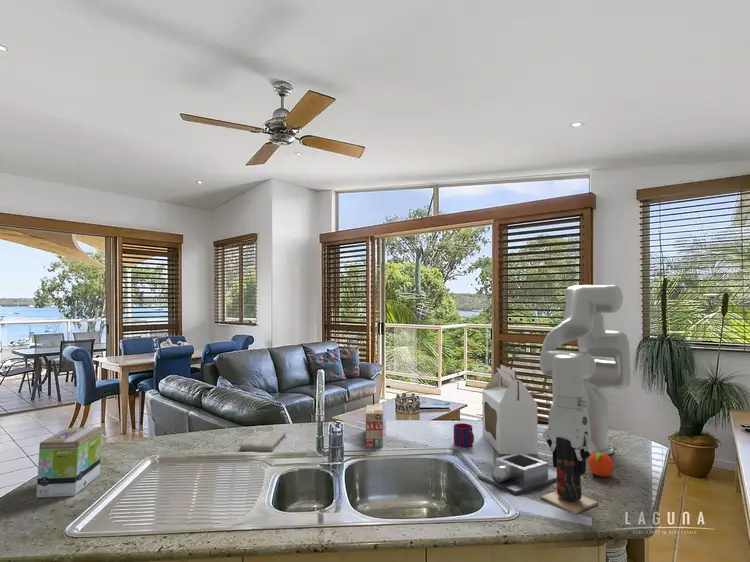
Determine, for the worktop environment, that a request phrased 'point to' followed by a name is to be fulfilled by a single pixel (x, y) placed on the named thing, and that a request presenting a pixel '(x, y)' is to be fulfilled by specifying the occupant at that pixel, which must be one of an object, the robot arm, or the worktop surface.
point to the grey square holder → (519, 473)
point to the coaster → (570, 502)
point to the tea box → (69, 461)
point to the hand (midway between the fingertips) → (568, 469)
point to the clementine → (600, 464)
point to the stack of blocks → (374, 426)
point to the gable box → (509, 414)
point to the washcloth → (263, 440)
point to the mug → (463, 435)
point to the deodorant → (567, 471)
